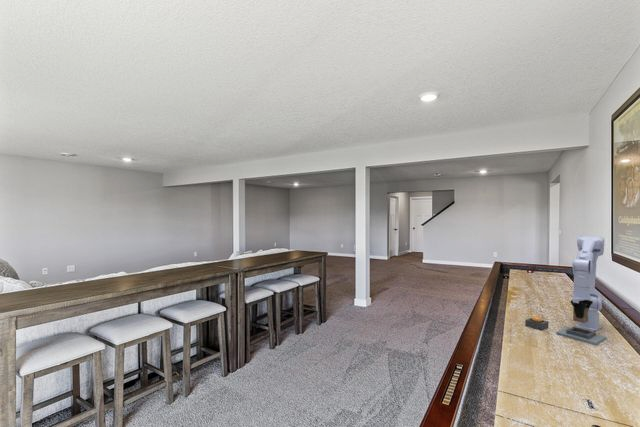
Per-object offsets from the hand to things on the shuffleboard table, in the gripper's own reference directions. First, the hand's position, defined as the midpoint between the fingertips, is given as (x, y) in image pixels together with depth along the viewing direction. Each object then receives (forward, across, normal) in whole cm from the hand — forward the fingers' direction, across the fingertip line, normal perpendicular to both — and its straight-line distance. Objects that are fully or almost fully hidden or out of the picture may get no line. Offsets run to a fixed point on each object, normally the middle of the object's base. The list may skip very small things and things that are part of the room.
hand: (581, 317), depth 140 cm
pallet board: (+9, 0, 0) cm, 9 cm away
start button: (+6, +3, -16) cm, 17 cm away
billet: (+2, 0, 0) cm, 2 cm away
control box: (+9, +4, -16) cm, 18 cm away
